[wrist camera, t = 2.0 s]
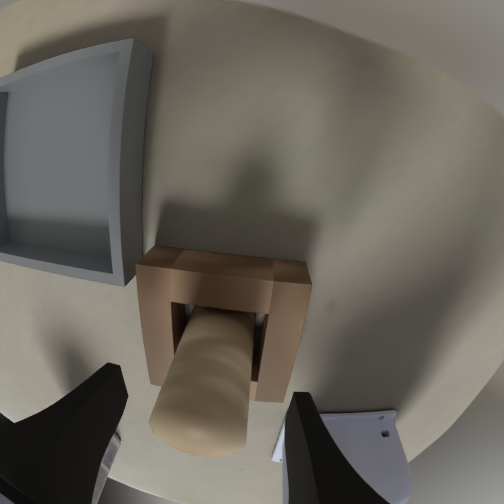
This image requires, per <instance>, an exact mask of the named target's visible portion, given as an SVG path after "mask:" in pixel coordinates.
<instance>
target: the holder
mask: <svg viewBox="0 0 504 504" xmlns="http://www.w3.org/2000/svg"><path fill="white" fill-rule="evenodd" d="M135 265H136V279H137V290H138V301H139V310H140V318H141V326H142V334H143V341H144V348H145V354H146V360H147V366H148V372H149V377H150V383H151V384H153V385H157V386H162V385H163V383H164V380H165V378H166V375H167V373H168V370H169V368H170V365H171V363H172V360H173V358H174V355H175V353H176V350H177V348H178V345H179V343H180V340H181V338H182V335H183V333H184V331H185V312H184V304H191V305H198V306H205V307H213V308H220V309H228V310H237V311H246V312H255V313H264V314H265V317H264V324H263V331H262V338H261V344H260V351H259V353H253V356H252V369H251V383H250V396H249V400H254V401H265V402H280V403H283V401H284V398H285V394H286V391H287V387H288V384H289V380H290V376H291V373H292V369H293V365H294V361H295V357H296V353H297V349H298V345H299V341H300V337H301V333H302V329H303V324H304V320H305V316H306V311H307V307H308V302H309V298H310V293H311V288H312V282H311V279H310V276H309V273H308V269H307V266H306V263H304V262H295V261H286V260H276V259H267V258H258V257H249V256H240V255H231V254H222V253H213V252H204V251H195V250H187V249H178V248H169V247H160V246H153V247H152V248H151V249H150V250H149V251H148V252H147V253H146V254H145V255H144V256H143V257H142V258H141V259H140V260H139V261H138V262H137V263H136V264H135Z"/></svg>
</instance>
